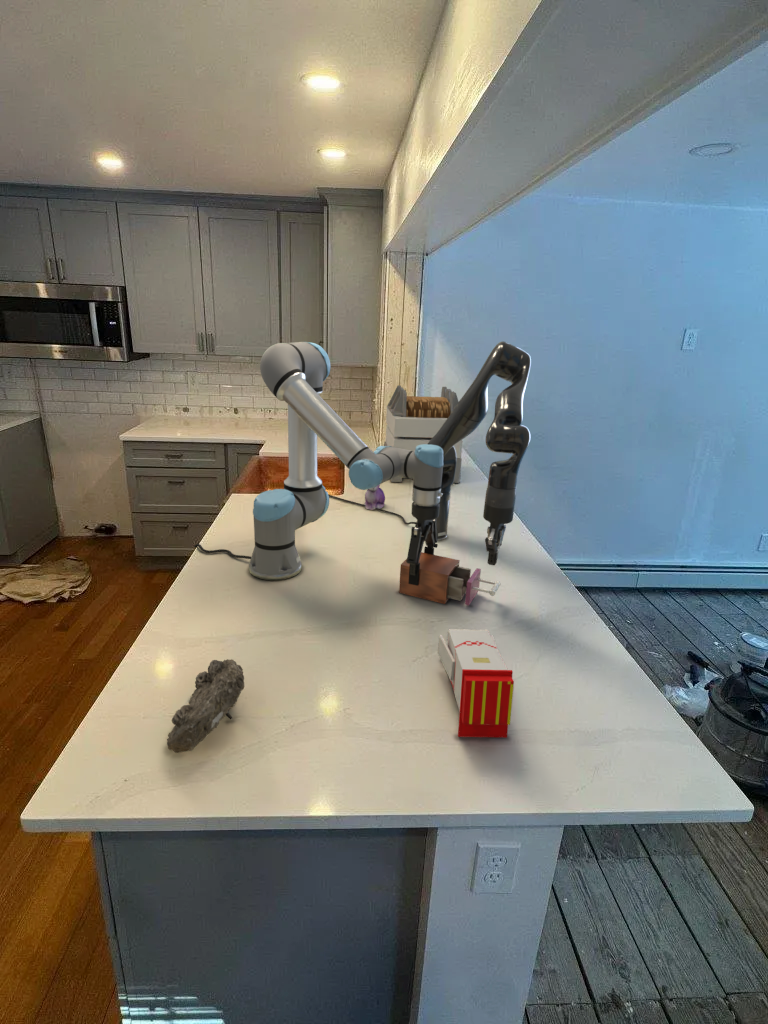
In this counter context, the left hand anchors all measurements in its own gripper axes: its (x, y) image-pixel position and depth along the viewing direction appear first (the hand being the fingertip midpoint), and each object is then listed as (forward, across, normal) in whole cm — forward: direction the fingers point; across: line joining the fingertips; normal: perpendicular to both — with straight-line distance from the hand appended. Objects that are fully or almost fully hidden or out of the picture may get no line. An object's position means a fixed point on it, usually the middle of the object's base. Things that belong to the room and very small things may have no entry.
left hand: (420, 575), depth 160 cm
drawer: (+3, 0, -13) cm, 13 cm away
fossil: (+4, -69, +16) cm, 71 cm away
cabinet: (+4, 0, -2) cm, 5 cm away
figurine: (+4, +57, +41) cm, 70 cm away
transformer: (+4, +113, +43) cm, 121 cm away
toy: (+4, -39, -26) cm, 47 cm away
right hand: (-8, 0, -20) cm, 21 cm away
